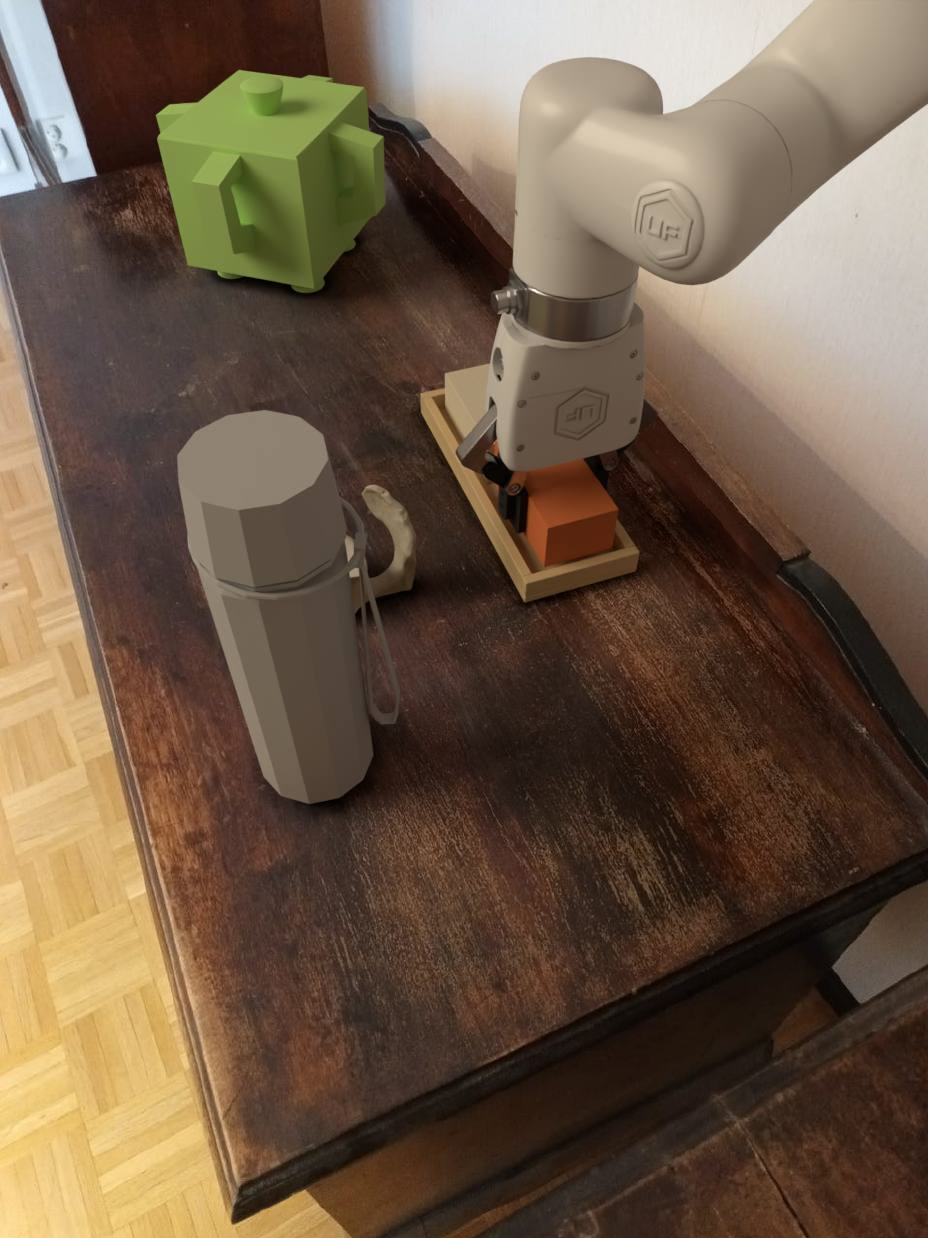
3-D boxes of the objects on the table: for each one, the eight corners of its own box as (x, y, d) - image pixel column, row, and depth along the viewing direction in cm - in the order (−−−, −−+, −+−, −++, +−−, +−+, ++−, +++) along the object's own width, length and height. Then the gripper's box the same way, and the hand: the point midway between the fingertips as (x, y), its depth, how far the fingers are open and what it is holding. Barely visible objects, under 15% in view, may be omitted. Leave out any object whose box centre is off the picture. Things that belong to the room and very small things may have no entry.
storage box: (340, 340, 88) (319, 156, 75) (132, 299, 93) (78, 119, 79) (426, 218, 103) (422, 47, 90) (244, 188, 108) (215, 21, 95)
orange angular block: (612, 548, 68) (619, 509, 65) (543, 567, 67) (547, 528, 64) (556, 465, 74) (560, 425, 71) (493, 481, 73) (494, 441, 70)
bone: (268, 603, 65) (295, 467, 61) (308, 580, 71) (335, 455, 67) (379, 645, 63) (413, 508, 60) (410, 618, 69) (443, 492, 66)
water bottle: (250, 813, 56) (142, 517, 37) (271, 706, 61) (186, 397, 42) (400, 818, 56) (371, 523, 37) (409, 710, 61) (387, 401, 42)
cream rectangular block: (548, 468, 76) (552, 429, 73) (486, 484, 74) (487, 445, 71) (503, 398, 82) (505, 359, 79) (445, 411, 80) (444, 372, 77)
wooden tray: (636, 571, 69) (640, 552, 68) (524, 603, 67) (526, 583, 66) (516, 391, 83) (517, 371, 82) (420, 412, 81) (420, 393, 80)
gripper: (462, 356, 52) (462, 573, 66) (727, 298, 56) (674, 515, 70) (420, 289, 57) (428, 506, 71) (667, 240, 60) (629, 455, 74)
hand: (551, 509), depth 70 cm, fingers closed on orange angular block, 5 cm apart
